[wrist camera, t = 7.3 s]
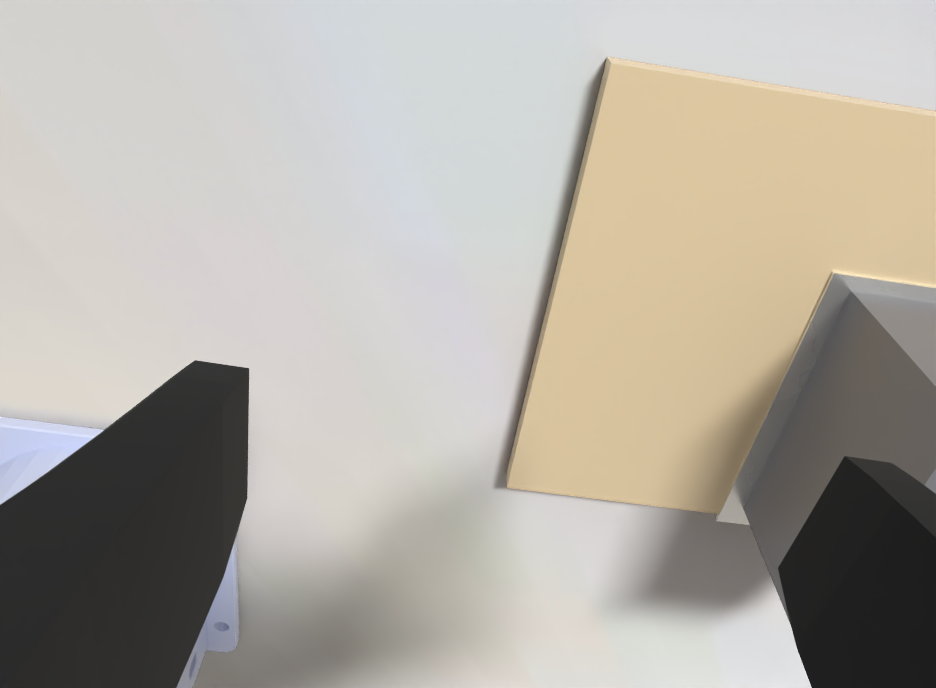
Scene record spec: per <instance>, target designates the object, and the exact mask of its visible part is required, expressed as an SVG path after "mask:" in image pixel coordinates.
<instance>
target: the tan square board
mask: <svg viewBox="0 0 936 688" xmlns="http://www.w3.org/2000/svg"><path fill="white" fill-rule="evenodd" d="M832 271H833V272H840V273H847V274H854V275H860V276H867V277H874V278H881V279H887V280H894V281H901V282H908V283H914V284H921V285H928V286H935V287H936V111H931V110H925V109H919V108H913V107H907V106H900V105H894V104H888V103H882V102H876V101H870V100H864V99H858V98H852V97H846V96H840V95H834V94H828V93H822V92H816V91H810V90H804V89H798V88H792V87H786V86H780V85H774V84H767V83H761V82H755V81H749V80H743V79H737V78H731V77H725V76H719V75H713V74H707V73H701V72H695V71H689V70H683V69H677V68H671V67H665V66H659V65H653V64H647V63H641V62H635V61H628V60H622V59H616V58H610V57H607V60H606V64H605V68H604V72H603V76H602V81H601V85H600V89H599V93H598V97H597V101H596V105H595V109H594V114H593V118H592V122H591V126H590V130H589V134H588V138H587V143H586V147H585V151H584V155H583V159H582V163H581V167H580V171H579V176H578V180H577V184H576V188H575V192H574V196H573V200H572V204H571V209H570V213H569V217H568V221H567V225H566V229H565V233H564V237H563V242H562V246H561V250H560V254H559V258H558V262H557V266H556V271H555V275H554V279H553V283H552V287H551V291H550V295H549V299H548V304H547V308H546V312H545V316H544V320H543V324H542V328H541V332H540V337H539V341H538V345H537V349H536V353H535V357H534V361H533V365H532V370H531V374H530V378H529V382H528V386H527V390H526V394H525V398H524V403H523V407H522V411H521V415H520V419H519V423H518V427H517V432H516V436H515V440H514V444H513V448H512V452H511V456H510V460H509V465H508V469H507V473H506V480H507V488H511V489H519V490H527V491H535V492H544V493H552V494H560V495H568V496H576V497H584V498H592V499H600V500H608V501H616V502H625V503H633V504H641V505H649V506H657V507H665V508H673V509H681V510H689V511H698V512H706V513H714V514H718V513H719V511H720V509H721V506H722V504H723V502H724V500H725V498H726V496H727V494H728V492H729V490H730V487H731V485H732V483H733V481H734V479H735V477H736V475H737V473H738V470H739V468H740V466H741V464H742V462H743V460H744V458H745V456H746V454H747V451H748V449H749V447H750V445H751V443H752V441H753V439H754V437H755V434H756V432H757V430H758V428H759V426H760V424H761V422H762V420H763V417H764V415H765V413H766V411H767V409H768V407H769V405H770V403H771V401H772V398H773V396H774V394H775V392H776V390H777V388H778V386H779V384H780V381H781V379H782V377H783V375H784V373H785V371H786V369H787V367H788V365H789V362H790V360H791V358H792V356H793V354H794V352H795V350H796V348H797V345H798V343H799V341H800V339H801V337H802V335H803V333H804V331H805V329H806V326H807V324H808V322H809V320H810V318H811V316H812V314H813V312H814V309H815V307H816V305H817V303H818V301H819V299H820V297H821V295H822V292H823V290H824V288H825V286H826V284H827V282H828V280H829V278H830V276H831V273H832Z"/></svg>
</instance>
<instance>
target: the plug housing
mask: <svg viewBox="0 0 936 688" xmlns="http://www.w3.org/2000/svg"><path fill="white" fill-rule="evenodd" d="M844 456H848V457H855V458H862V459H869V460H876V461H882V462H889V463H893V464H894V465H896V466H897V467H899V468H900V469H902V470H903V471H905V472H906V473H908V474H909V475H911V476H912V477H913V478H915V479H916V480H918V481H919V482H921V483H922V484H923V485H925V486H926V487H927V488H929V489H930V490H931V491H933V492H934V493H935V494H936V303H931V302H925V301H918V300H911V299H904V298H897V297H890V296H883V295H877V294H870V293H863V292H856V291H851V292H850V294H849V296H848V298H847V300H846V302H845V304H844V306H843V308H842V310H841V312H840V314H839V316H838V318H837V320H836V323H835V325H834V327H833V329H832V331H831V333H830V335H829V337H828V339H827V341H826V343H825V345H824V347H823V349H822V351H821V353H820V355H819V357H818V359H817V361H816V363H815V365H814V367H813V369H812V371H811V373H810V375H809V377H808V379H807V381H806V383H805V385H804V387H803V389H802V391H801V393H800V395H799V397H798V399H797V401H796V403H795V405H794V407H793V409H792V411H791V413H790V415H789V417H788V419H787V422H786V424H785V426H784V428H783V430H782V432H781V434H780V436H779V438H778V440H777V442H776V444H775V446H774V448H773V450H772V452H771V454H770V456H769V458H768V460H767V462H766V464H765V466H764V468H763V470H762V472H761V474H760V476H759V478H758V480H757V482H756V484H755V486H754V488H753V490H752V492H751V494H750V496H749V498H748V500H747V502H746V504H745V506H744V508H743V510H744V512H745V514H746V517H747V519H748V522H749V524H750V527H751V529H752V531H753V534H754V536H755V539H756V541H757V544H758V546H759V549H760V551H761V553H762V556H763V558H764V561H765V563H766V566H767V568H768V570H769V573H770V575H771V578H772V580H773V583H774V585H775V587H776V590H777V592H778V595H779V597H780V600H781V602H782V605H783V607H784V609H785V612H786V614H787V617H788V619H789V616H788V612H787V607H786V603H785V598H784V594H783V589H782V585H781V580H780V576H779V571H778V567H779V565H780V564H781V562H782V560H783V559H784V557H785V555H786V554H787V552H788V550H789V548H790V547H791V545H792V543H793V542H794V540H795V538H796V537H797V535H798V533H799V532H800V530H801V528H802V527H803V525H804V523H805V522H806V520H807V518H808V517H809V515H810V513H811V512H812V510H813V508H814V506H815V505H816V503H817V501H818V500H819V498H820V496H821V495H822V493H823V491H824V490H825V488H826V486H827V485H828V483H829V481H830V480H831V478H832V476H833V475H834V473H835V471H836V470H837V468H838V466H839V464H840V463H841V461H842V459H843V458H844ZM789 622H790V619H789ZM790 624H791V623H790Z"/></svg>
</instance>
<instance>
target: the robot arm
mask: <svg viewBox="0 0 936 688" xmlns="http://www.w3.org/2000/svg"><path fill="white" fill-rule="evenodd" d="M248 406H249V368H243V367H236V366H229V365H223V364H216V363H209V362H202V361H194V362H192V363H191V364H189V365H188V366H186V367H185V368H184V369H182V370H181V371H180V372H178V373H177V374H176V375H174V376H173V377H172V378H170V379H169V380H168V381H167V382H165V383H164V384H163V385H162V386H160V387H159V388H158V389H156V390H155V391H154V392H153V393H151V394H150V395H149V396H148V397H146V398H145V399H144V400H142V401H141V402H140V403H139V404H137V405H136V406H135V407H134V408H132V409H131V410H130V411H128V412H127V413H126V414H124V415H123V416H122V417H121V418H119V419H118V420H117V421H115V422H114V423H113V424H111V425H110V426H109V427H108V428H106V429H105V430H103V429H95V428H86V427H78V426H70V425H62V424H54V423H46V422H38V421H30V420H22V419H14V418H6V417H0V688H193V686H194V684H195V681H196V678H197V675H198V672H199V669H200V667H201V664H202V661H203V658H204V655H205V652H206V651H215V652H230V651H233V650H234V649H235V648H236V647H237V644H238V640H239V604H238V568H237V531H238V528H239V524H240V521H241V517H242V514H243V510H244V507H245V503H246V500H247V474H248ZM778 571H779V576H780V580H781V585H782V589H783V594H784V598H785V603H786V607H787V612H788V616H789V619H790V623H791V627H792V631H793V635H794V638H795V642H796V646H797V649H798V652H799V654H800V657H801V660H802V663H803V665H804V668H805V671H806V673H807V676H808V679H809V681H810V684H811V686H812V688H936V494H935V493H934V492H933V491H931V490H930V489H929V488H927V487H926V486H925V485H923V484H922V483H921V482H919V481H918V480H916V479H915V478H913V477H912V476H911V475H909V474H908V473H906V472H905V471H903V470H902V469H900V468H899V467H897V466H896V465H894V464H893V463H889V462H882V461H876V460H869V459H862V458H855V457H848V456H844V458H843V459H842V461H841V463H840V464H839V466H838V468H837V470H836V471H835V473H834V475H833V476H832V478H831V480H830V481H829V483H828V485H827V486H826V488H825V490H824V491H823V493H822V495H821V496H820V498H819V500H818V501H817V503H816V505H815V506H814V508H813V510H812V512H811V513H810V515H809V517H808V518H807V520H806V522H805V523H804V525H803V527H802V528H801V530H800V532H799V533H798V535H797V537H796V538H795V540H794V542H793V543H792V545H791V547H790V548H789V550H788V552H787V554H786V555H785V557H784V559H783V560H782V562H781V564H780V565H779V567H778Z"/></svg>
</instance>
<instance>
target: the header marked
mask: <svg viewBox="0 0 936 688" xmlns="http://www.w3.org/2000/svg"><path fill="white" fill-rule="evenodd" d="M851 291H856V292H863V293H870V294H877V295H883V296H890V297H897V298H904V299H911V300H918V301H925V302H931V303H936V287H935V286H928V285H921V284H914V283H908V282H901V281H894V280H887V279H881V278H874V277H867V276H860V275H854V274H847V273H840V272H833V271H832V273H831V276H830V278H829V280H828V282H827V284H826V286H825V288H824V290H823V292H822V295H821V297H820V299H819V301H818V303H817V305H816V307H815V309H814V312H813V314H812V316H811V318H810V320H809V322H808V324H807V326H806V329H805V331H804V333H803V335H802V337H801V339H800V341H799V343H798V345H797V348H796V350H795V352H794V354H793V356H792V358H791V360H790V362H789V365H788V367H787V369H786V371H785V373H784V375H783V377H782V379H781V381H780V384H779V386H778V388H777V390H776V392H775V394H774V396H773V398H772V401H771V403H770V405H769V407H768V409H767V411H766V413H765V415H764V417H763V420H762V422H761V424H760V426H759V428H758V430H757V432H756V434H755V437H754V439H753V441H752V443H751V445H750V447H749V449H748V451H747V454H746V456H745V458H744V460H743V462H742V464H741V466H740V468H739V470H738V473H737V475H736V477H735V479H734V481H733V483H732V485H731V487H730V490H729V492H728V494H727V496H726V498H725V500H724V502H723V504H722V506H721V509H720V511H719V513H718V515H717V517H716V521H719V522H727V523H735V524H744V525H750V524H749V522H748V519H747V517H746V514H745V512H744V510H743V508H744V506H745V504H746V502H747V500H748V498H749V496H750V494H751V492H752V490H753V488H754V486H755V484H756V482H757V480H758V478H759V476H760V474H761V472H762V470H763V468H764V466H765V464H766V462H767V460H768V458H769V456H770V454H771V452H772V450H773V448H774V446H775V444H776V442H777V440H778V438H779V436H780V434H781V432H782V430H783V428H784V426H785V424H786V422H787V419H788V417H789V415H790V413H791V411H792V409H793V407H794V405H795V403H796V401H797V399H798V397H799V395H800V393H801V391H802V389H803V387H804V385H805V383H806V381H807V379H808V377H809V375H810V373H811V371H812V369H813V367H814V365H815V363H816V361H817V359H818V357H819V355H820V353H821V351H822V349H823V347H824V345H825V343H826V341H827V339H828V337H829V335H830V333H831V331H832V329H833V327H834V325H835V323H836V320H837V318H838V316H839V314H840V312H841V310H842V308H843V306H844V304H845V302H846V300H847V298H848V296H849V294H850V292H851Z"/></svg>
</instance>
